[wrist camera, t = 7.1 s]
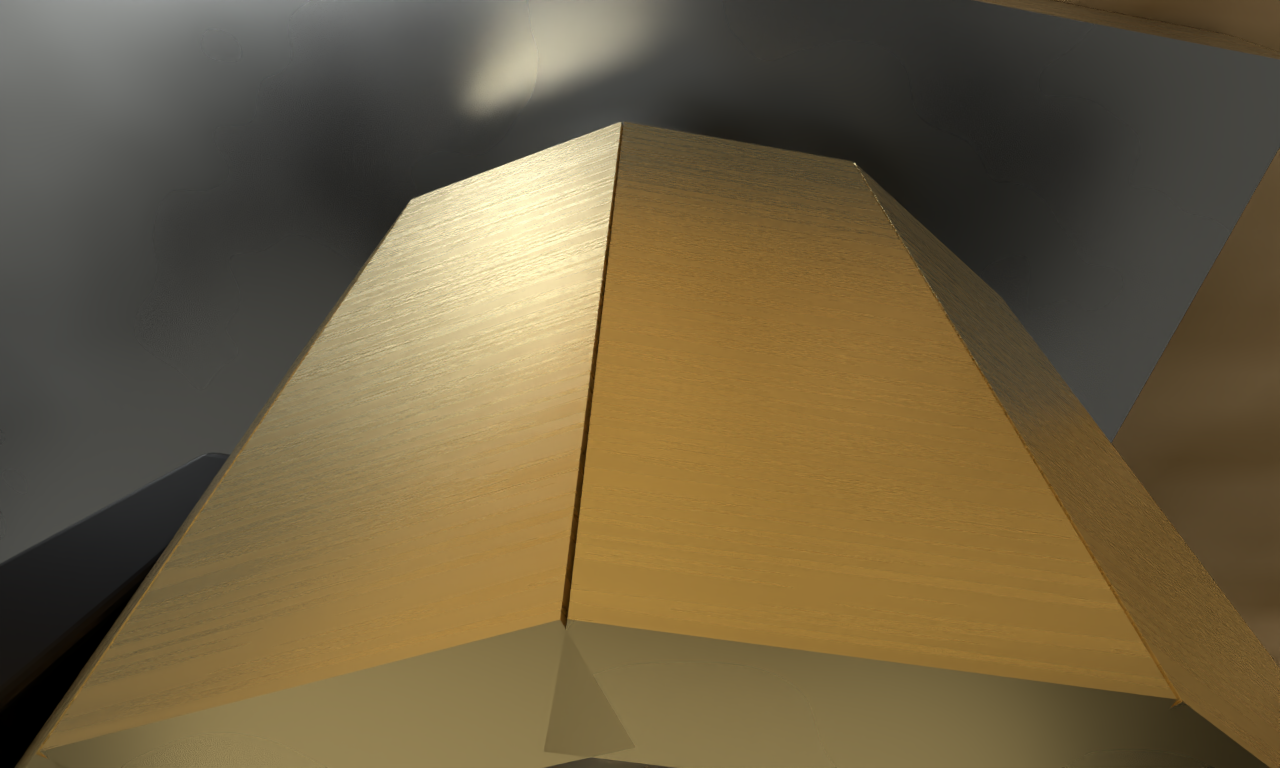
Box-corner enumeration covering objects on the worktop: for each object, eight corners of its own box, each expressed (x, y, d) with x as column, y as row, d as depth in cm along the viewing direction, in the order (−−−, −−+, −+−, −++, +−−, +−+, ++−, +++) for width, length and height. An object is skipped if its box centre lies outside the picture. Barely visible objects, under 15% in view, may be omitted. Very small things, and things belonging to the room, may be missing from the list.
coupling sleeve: (886, 740, 11) (1040, 1347, 6) (315, 670, 10) (67, 1278, 6) (1155, 215, 7) (1923, 800, 3) (291, 62, 6) (-402, 489, 2)
